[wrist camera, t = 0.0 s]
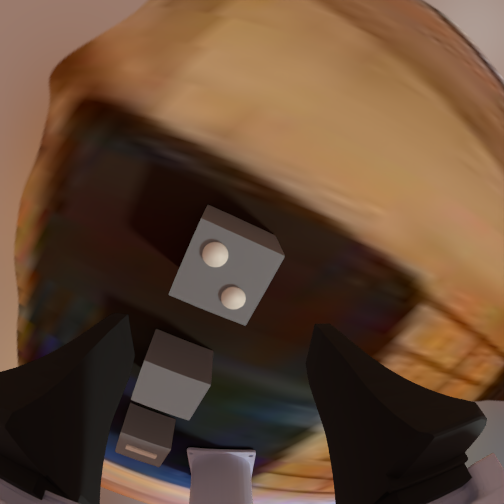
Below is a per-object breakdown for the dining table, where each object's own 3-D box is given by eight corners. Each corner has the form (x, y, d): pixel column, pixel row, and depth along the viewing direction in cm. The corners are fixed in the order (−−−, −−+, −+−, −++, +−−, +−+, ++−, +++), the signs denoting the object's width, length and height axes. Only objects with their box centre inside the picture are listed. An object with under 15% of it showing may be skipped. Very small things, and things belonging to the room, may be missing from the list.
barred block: (163, 439, 27) (159, 468, 23) (123, 425, 26) (114, 453, 22) (175, 419, 26) (170, 450, 22) (130, 402, 25) (120, 433, 21)
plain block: (193, 387, 24) (188, 420, 21) (141, 368, 23) (130, 399, 20) (213, 351, 23) (210, 384, 19) (156, 328, 22) (144, 360, 18)
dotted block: (243, 295, 21) (245, 327, 17) (179, 268, 20) (167, 296, 16) (275, 235, 20) (285, 257, 16) (207, 204, 19) (200, 218, 15)
